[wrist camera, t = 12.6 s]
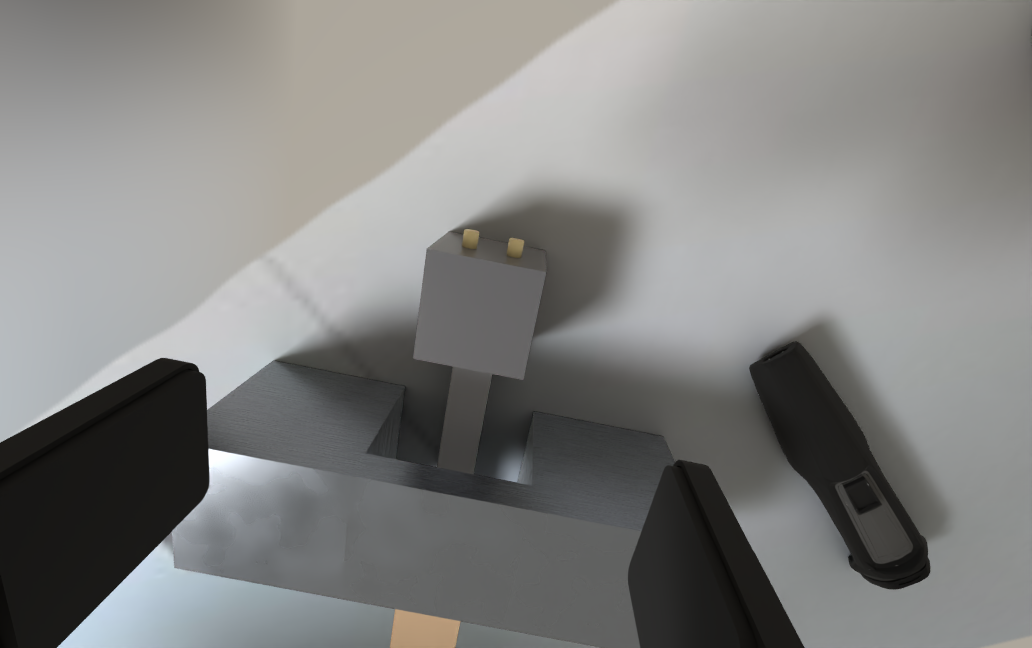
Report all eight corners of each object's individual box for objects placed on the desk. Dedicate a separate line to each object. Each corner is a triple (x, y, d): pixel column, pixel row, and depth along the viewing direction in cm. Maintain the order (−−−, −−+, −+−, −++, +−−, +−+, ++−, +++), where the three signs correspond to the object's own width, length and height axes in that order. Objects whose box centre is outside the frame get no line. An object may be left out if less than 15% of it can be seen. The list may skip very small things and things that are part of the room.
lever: (470, 605, 29) (458, 681, 24) (398, 592, 28) (374, 665, 24) (548, 236, 21) (550, 254, 17) (451, 216, 21) (429, 230, 17)
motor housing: (631, 529, 26) (663, 659, 19) (270, 460, 26) (174, 567, 19) (663, 436, 24) (711, 544, 17) (273, 360, 24) (166, 440, 17)
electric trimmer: (794, 310, 22) (832, 333, 19) (917, 539, 26) (965, 589, 23) (719, 351, 23) (745, 379, 20) (848, 567, 27) (886, 618, 24)
